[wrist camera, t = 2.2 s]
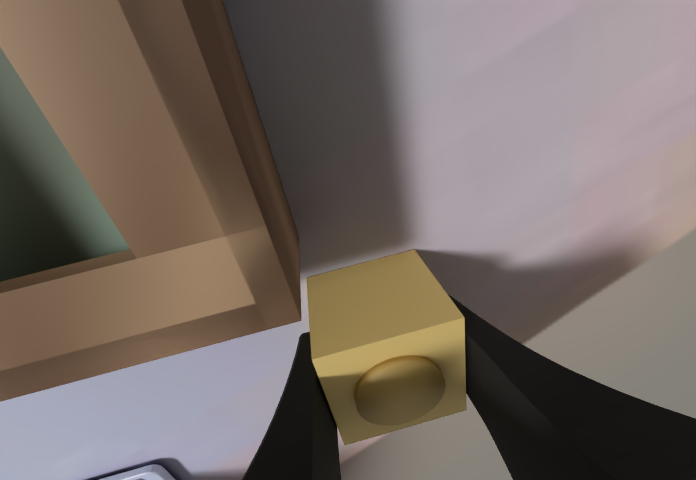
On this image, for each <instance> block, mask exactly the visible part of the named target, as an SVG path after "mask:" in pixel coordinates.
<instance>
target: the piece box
mask: <svg viewBox="0 0 696 480" xmlns="http://www.w3.org/2000/svg"><path fill="white" fill-rule="evenodd" d="M298 321H301V294H300V261H299V236H298V233H297V230H296V227H295V224H294V221H293V218H292V214H291V211H290V208H289V205H288V202H287V199H286V196H285V193H284V190H283V187H282V183H281V180H280V177H279V174H278V171H277V168H276V165H275V162H274V159H273V155H272V152H271V149H270V146H269V143H268V140H267V137H266V134H265V131H264V127H263V124H262V121H261V118H260V115H259V112H258V109H257V106H256V103H255V99H254V96H253V93H252V90H251V87H250V84H249V81H248V78H247V75H246V71H245V68H244V65H243V62H242V59H241V56H240V53H239V50H238V47H237V43H236V40H235V37H234V34H233V31H232V28H231V25H230V22H229V19H228V15H227V12H226V9H225V6H224V3H223V0H0V401H4V400H8V399H12V398H15V397H19V396H23V395H26V394H30V393H34V392H38V391H41V390H45V389H49V388H52V387H56V386H60V385H64V384H67V383H71V382H75V381H78V380H82V379H86V378H90V377H93V376H97V375H101V374H104V373H108V372H112V371H116V370H119V369H123V368H127V367H130V366H134V365H138V364H142V363H145V362H149V361H153V360H156V359H160V358H164V357H168V356H171V355H175V354H179V353H182V352H186V351H190V350H194V349H197V348H201V347H205V346H208V345H212V344H216V343H220V342H223V341H227V340H231V339H234V338H238V337H242V336H246V335H249V334H253V333H257V332H260V331H264V330H268V329H272V328H275V327H279V326H283V325H287V324H290V323H294V322H298Z"/></svg>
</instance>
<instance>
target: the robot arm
mask: <svg viewBox="0 0 696 480" xmlns="http://www.w3.org/2000/svg"><path fill="white" fill-rule="evenodd" d="M448 296H449V297H450V298H451V300H452V301H453V303H454V304H455V305H456V307H457V308H458V309H459V311H460V312H461V313H462V315H463V316H464V318H465V364H466V393H467V395H468V396H469V398H470V400H471V401H472V403H473V405H474V406H475V408H476V409H477V411H478V413H479V414H480V416H481V418H482V419H483V421H484V423H485V424H486V426H487V428H488V430H489V432H490V434H491V436H492V437H493V440H494V441H495V444H496V445H497V448H498V450H499V452H500V454H501V456H502V458H503V460H504V462H505V464H506V466H507V468H508V470H509V472H510V474H511V476H512V478H513V480H696V419H695V418H692V417H689V416H686V415H683V414H680V413H677V412H674V411H671V410H668V409H665V408H662V407H659V406H657V405H654V404H651V403H648V402H646V401H643V400H641V399H638V398H635V397H633V396H630V395H627V394H625V393H622V392H620V391H617V390H615V389H612V388H610V387H608V386H605V385H603V384H600V383H598V382H596V381H594V380H592V379H589V378H587V377H585V376H583V375H580V374H578V373H576V372H574V371H571V370H569V369H567V368H565V367H563V366H561V365H559V364H557V363H555V362H553V361H551V360H549V359H547V358H546V357H544V356H542V355H540V354H538V353H536V352H534V351H533V350H531V349H529V348H527V347H526V346H524V345H522V344H521V343H519V342H517V341H516V340H514V339H512V338H511V337H509V336H507V335H506V334H504V333H503V332H501V331H500V330H498V329H497V328H495V327H494V326H492V325H491V324H489V323H488V322H486V321H485V320H483V319H482V318H480V317H479V316H477V315H476V314H475V313H473V312H472V311H470V310H469V309H468V308H466V307H465V306H464V305H462V304H461V303H459V302H458V301H457V300H455V299H454V298H453V297H451V296H450V295H448ZM99 480H175V479H174V478H173V477H172V476H171V475H170V474H169V473H168V472H167V471H166V470H165V469H164V468H163V467H162V466H161V465H156V464H153V465H148V466H144V467H141V468H137V469H134V470H130V471H127V472H123V473H120V474H116V475H113V476H109V477H106V478H102V479H99ZM242 480H341V474H340V464H339V451H338V435H337V424H336V422H335V419H334V416H333V414H332V411H331V409H330V406H329V403H328V401H327V398H326V396H325V393H324V390H323V388H322V385H321V383H320V380H319V377H318V375H317V372H316V370H315V367H314V364H313V362H312V357H311V341H310V332H307V333H303V334H301V336H300V337H299V342H298V346H297V350H296V354H295V358H294V361H293V364H292V368H291V371H290V374H289V377H288V380H287V383H286V386H285V388H284V391H283V394H282V396H281V399H280V401H279V404H278V406H277V409H276V411H275V414H274V416H273V419H272V421H271V423H270V425H269V428H268V430H267V432H266V434H265V436H264V438H263V440H262V443H261V445H260V447H259V449H258V451H257V453H256V454H255V456H254V458H253V460H252V462H251V464H250V466H249V468H248V470H247V472H246V473H245V475H244V477H243V479H242Z"/></svg>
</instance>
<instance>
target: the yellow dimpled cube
mask: <svg viewBox="0 0 696 480" xmlns="http://www.w3.org/2000/svg"><path fill="white" fill-rule="evenodd" d="M306 279H307V294H308V310H309V325H310V341H311V357H312V362H313V364H314V367H315V370H316V372H317V375H318V377H319V380H320V383H321V385H322V388H323V390H324V393H325V396H326V398H327V401H328V403H329V406H330V409H331V411H332V414H333V416H334V419H335V422H336V424H337V427H338V429H339V432H340V435H341V437H342V440H343V442H344V445H348V444H351V443H355V442H358V441H361V440H365V439H368V438H372V437H375V436H379V435H382V434H386V433H389V432H392V431H396V430H399V429H403V428H406V427H410V426H413V425H417V424H420V423H423V422H426V421H430V420H433V419H437V418H440V417H444V416H448V415H451V414H454V413H458V412H461V411H464V410H466V364H465V318H464V316H463V315H462V313H461V312H460V311H459V309H458V308H457V307H456V305H455V304H454V303H453V301H452V300H451V298H450V297H449V296H448V294H447V293H446V292H445V290H444V289H443V288H442V286H441V285H440V284H439V282H438V281H437V279H436V278H435V277H434V275H433V274H432V273H431V271H430V270H429V269H428V267H427V266H426V265H425V263H424V262H423V260H422V259H421V258H420V256H419V255H418V254H417V252H416V251H415V250H410V251H406V252H402V253H398V254H395V255H391V256H387V257H383V258H379V259H376V260H372V261H368V262H364V263H360V264H357V265H353V266H349V267H345V268H341V269H338V270H334V271H330V272H326V273H322V274H319V275H315V276H311V277H307V278H306Z"/></svg>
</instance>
